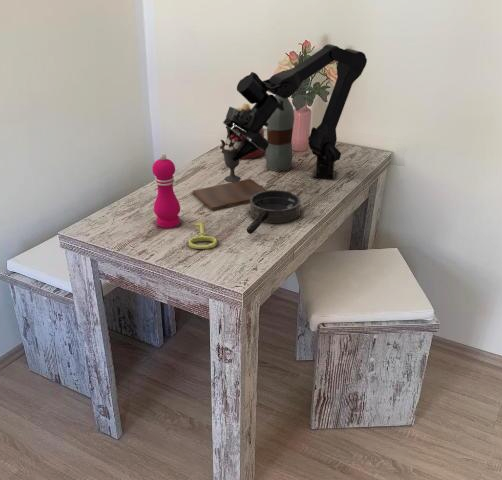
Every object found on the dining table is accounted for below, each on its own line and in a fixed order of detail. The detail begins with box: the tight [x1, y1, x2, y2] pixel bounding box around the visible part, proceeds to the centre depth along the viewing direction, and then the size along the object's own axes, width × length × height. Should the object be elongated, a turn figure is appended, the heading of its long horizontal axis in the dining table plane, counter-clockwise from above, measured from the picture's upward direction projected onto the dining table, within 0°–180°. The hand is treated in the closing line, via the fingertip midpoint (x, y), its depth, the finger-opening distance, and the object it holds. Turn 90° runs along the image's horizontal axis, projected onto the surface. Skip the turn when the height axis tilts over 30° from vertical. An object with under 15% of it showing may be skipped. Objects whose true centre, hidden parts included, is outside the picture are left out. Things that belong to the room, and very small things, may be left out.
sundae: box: [219, 130, 242, 183], centre depth 170 cm, size 7×7×15 cm
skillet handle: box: [246, 211, 268, 235], centre depth 154 cm, size 12×2×2 cm, turn 156°
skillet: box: [249, 189, 302, 224], centre depth 164 cm, size 14×14×4 cm
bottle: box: [265, 94, 295, 172], centre depth 188 cm, size 9×9×30 cm
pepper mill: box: [151, 153, 181, 229], centre depth 155 cm, size 7×7×20 cm
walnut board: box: [192, 178, 268, 211], centre depth 176 cm, size 20×14×1 cm
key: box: [188, 220, 218, 250], centre depth 152 cm, size 7×12×2 cm, turn 23°
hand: (227, 156), depth 169 cm, fingers closed on sundae, 6 cm apart
